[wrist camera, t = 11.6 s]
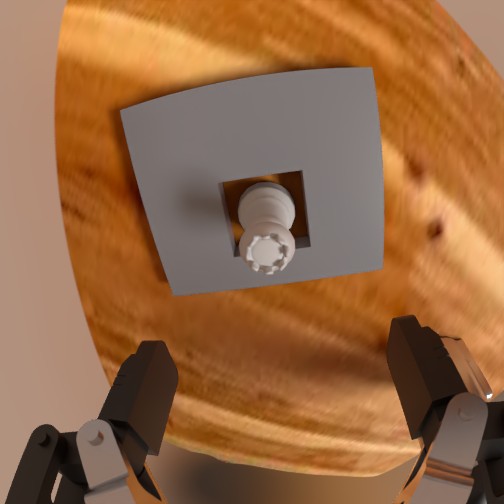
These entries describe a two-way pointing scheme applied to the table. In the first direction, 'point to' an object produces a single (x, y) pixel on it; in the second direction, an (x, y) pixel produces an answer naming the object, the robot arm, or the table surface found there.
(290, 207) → the rook chess piece
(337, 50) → the table surface
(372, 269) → the socket dock
